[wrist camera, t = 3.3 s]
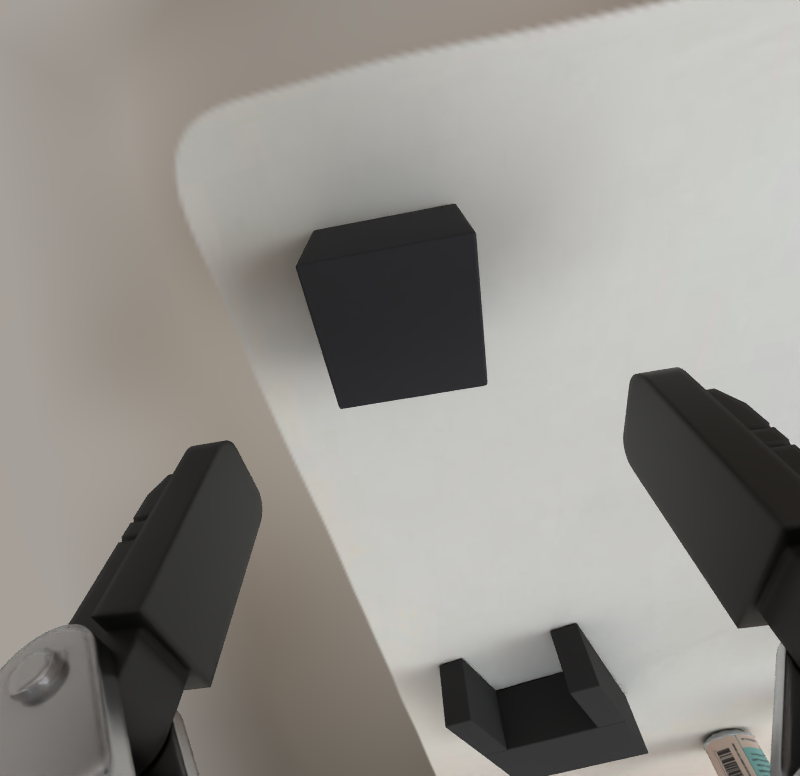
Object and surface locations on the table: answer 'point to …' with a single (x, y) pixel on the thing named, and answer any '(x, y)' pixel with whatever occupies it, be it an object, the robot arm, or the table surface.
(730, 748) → the beer can
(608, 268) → the table surface
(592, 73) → the table surface
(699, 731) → the table surface
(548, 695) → the black flat forked piece
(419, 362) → the black block
